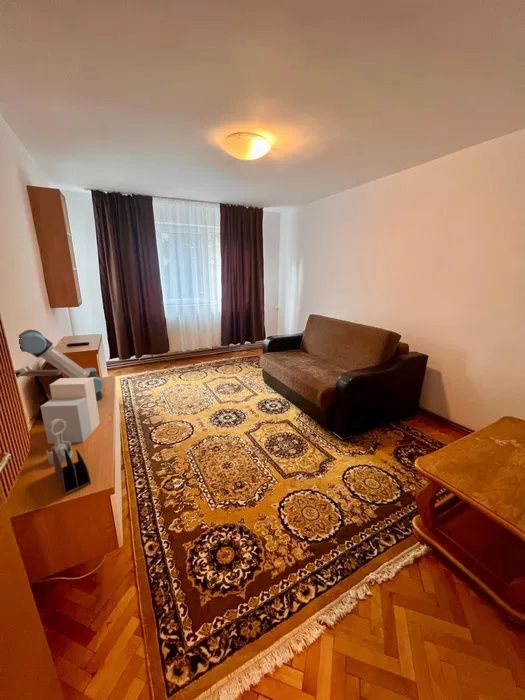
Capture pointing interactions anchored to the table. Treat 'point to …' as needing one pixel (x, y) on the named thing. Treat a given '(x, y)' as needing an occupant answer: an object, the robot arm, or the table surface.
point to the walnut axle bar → (41, 372)
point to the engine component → (59, 442)
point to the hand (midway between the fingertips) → (27, 368)
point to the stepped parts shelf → (72, 409)
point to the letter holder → (71, 472)
